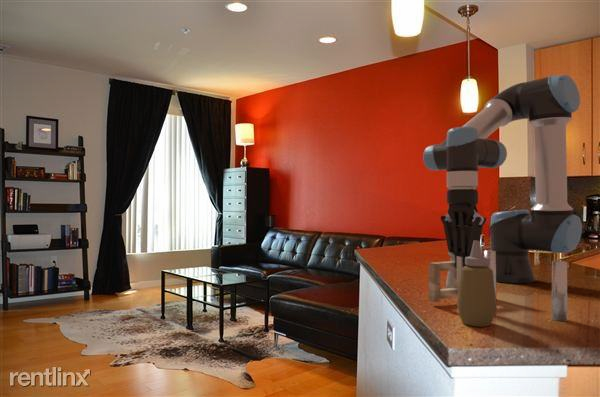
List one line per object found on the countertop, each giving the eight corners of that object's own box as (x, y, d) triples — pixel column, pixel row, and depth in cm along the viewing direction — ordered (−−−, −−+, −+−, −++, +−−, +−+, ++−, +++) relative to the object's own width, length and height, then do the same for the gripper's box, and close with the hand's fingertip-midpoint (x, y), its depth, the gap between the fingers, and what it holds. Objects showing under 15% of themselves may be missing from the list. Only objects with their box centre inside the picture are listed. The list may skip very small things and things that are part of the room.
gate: (481, 294, 122) (481, 259, 122) (487, 295, 120) (487, 259, 120) (428, 300, 115) (428, 262, 115) (434, 302, 113) (434, 263, 113)
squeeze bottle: (450, 319, 101) (450, 239, 101) (485, 318, 102) (485, 239, 102) (467, 329, 93) (466, 242, 93) (504, 328, 94) (504, 242, 94)
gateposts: (481, 298, 123) (481, 250, 123) (490, 297, 124) (490, 250, 124) (560, 321, 99) (559, 262, 99) (570, 320, 100) (570, 262, 100)
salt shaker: (468, 295, 126) (468, 249, 126) (447, 294, 127) (447, 248, 127) (465, 291, 132) (465, 247, 132) (444, 290, 133) (444, 246, 133)
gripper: (493, 188, 110) (494, 284, 110) (453, 189, 122) (454, 277, 121) (471, 187, 107) (472, 287, 106) (432, 189, 118) (433, 279, 118)
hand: (462, 282), depth 114 cm, fingers closed
